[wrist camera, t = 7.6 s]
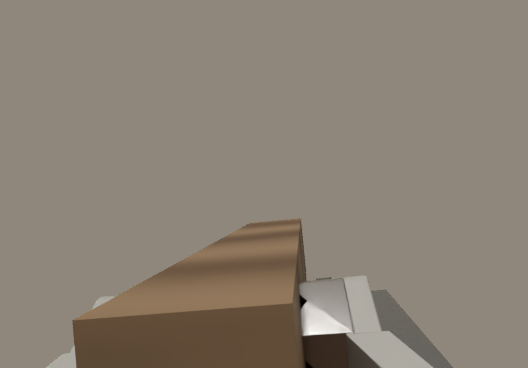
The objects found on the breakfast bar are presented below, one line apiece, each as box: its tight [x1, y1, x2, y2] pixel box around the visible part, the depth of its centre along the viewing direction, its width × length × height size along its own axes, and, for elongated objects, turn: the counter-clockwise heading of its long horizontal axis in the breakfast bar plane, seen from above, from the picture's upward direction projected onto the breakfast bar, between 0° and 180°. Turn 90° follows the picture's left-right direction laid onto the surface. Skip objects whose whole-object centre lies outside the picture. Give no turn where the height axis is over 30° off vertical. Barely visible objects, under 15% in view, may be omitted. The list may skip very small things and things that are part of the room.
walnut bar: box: [73, 219, 306, 368], centre depth 16 cm, size 20×3×3 cm, turn 175°
